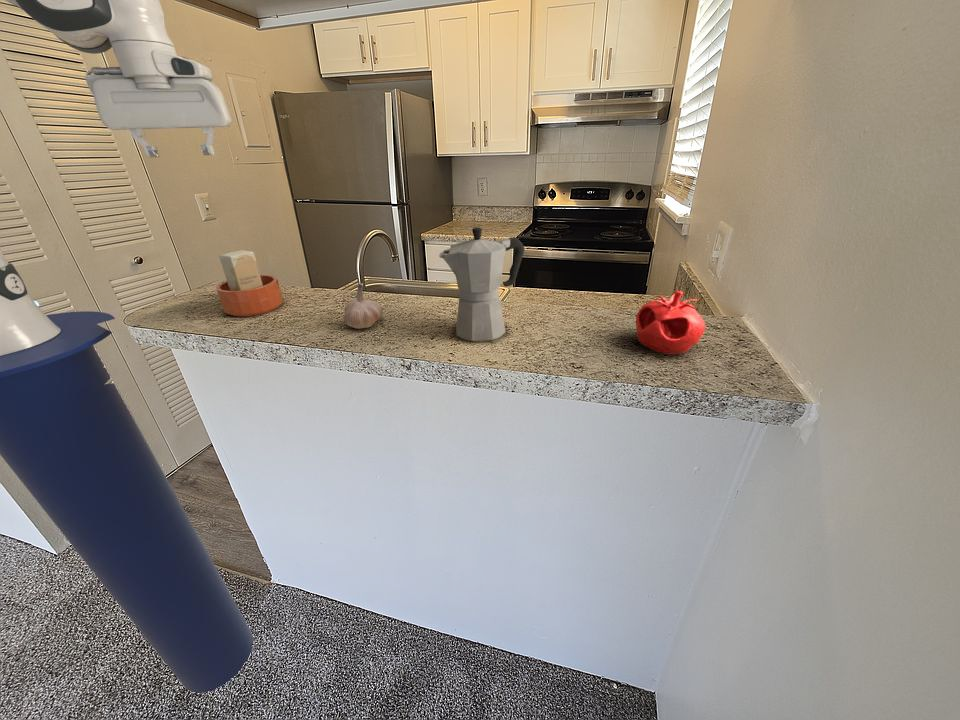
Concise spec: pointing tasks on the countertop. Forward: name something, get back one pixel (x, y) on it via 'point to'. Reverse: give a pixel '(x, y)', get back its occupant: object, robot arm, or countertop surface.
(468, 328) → the coffeepot
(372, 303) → the garlic bulb
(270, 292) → the bowl
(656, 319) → the pomegranate
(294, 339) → the countertop surface
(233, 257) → the box
